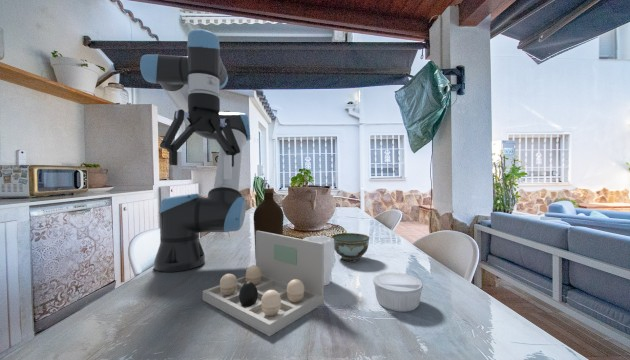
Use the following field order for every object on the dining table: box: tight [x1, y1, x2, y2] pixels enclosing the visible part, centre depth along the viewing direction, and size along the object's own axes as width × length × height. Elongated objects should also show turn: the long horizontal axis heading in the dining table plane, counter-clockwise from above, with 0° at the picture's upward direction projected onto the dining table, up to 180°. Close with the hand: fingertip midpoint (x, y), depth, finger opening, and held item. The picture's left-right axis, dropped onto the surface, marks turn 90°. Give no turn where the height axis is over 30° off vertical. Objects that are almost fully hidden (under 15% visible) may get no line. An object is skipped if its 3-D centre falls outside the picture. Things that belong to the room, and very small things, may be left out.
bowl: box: [331, 232, 370, 262], centre depth 97 cm, size 14×13×8 cm
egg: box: [239, 282, 258, 307], centre depth 61 cm, size 4×4×5 cm
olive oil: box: [253, 188, 284, 260], centre depth 97 cm, size 11×11×25 cm
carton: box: [202, 231, 325, 337], centre depth 64 cm, size 24×17×14 cm
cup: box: [302, 235, 335, 287], centre depth 76 cm, size 9×9×12 cm
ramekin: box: [372, 271, 424, 313], centre depth 64 cm, size 11×11×5 cm
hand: (204, 179), depth 69 cm, fingers open, 13 cm apart
